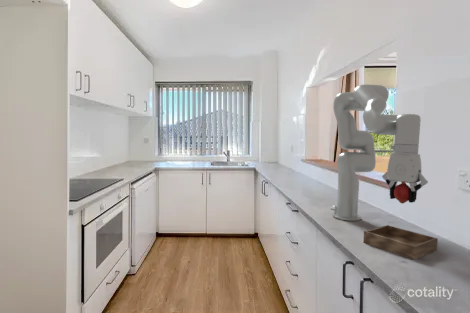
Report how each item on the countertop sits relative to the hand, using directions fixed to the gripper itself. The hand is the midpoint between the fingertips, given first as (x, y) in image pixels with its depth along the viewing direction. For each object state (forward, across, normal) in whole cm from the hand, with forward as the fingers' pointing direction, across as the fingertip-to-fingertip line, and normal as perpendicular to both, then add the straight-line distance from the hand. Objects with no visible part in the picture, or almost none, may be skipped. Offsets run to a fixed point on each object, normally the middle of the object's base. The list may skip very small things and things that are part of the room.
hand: (402, 199), depth 110 cm
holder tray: (+17, 0, 0) cm, 17 cm away
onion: (+2, 0, 0) cm, 2 cm away
